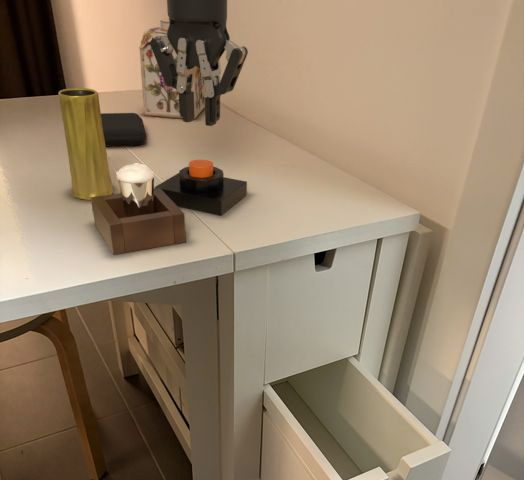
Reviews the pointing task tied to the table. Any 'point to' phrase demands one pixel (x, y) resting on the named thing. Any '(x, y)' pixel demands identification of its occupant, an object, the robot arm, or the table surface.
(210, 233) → the table surface
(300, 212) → the table surface
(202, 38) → the robot arm
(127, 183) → the milkshake
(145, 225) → the socket
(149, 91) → the decorative jar
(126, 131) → the carrying case
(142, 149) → the table surface
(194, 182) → the confirm box
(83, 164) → the vase
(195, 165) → the button
